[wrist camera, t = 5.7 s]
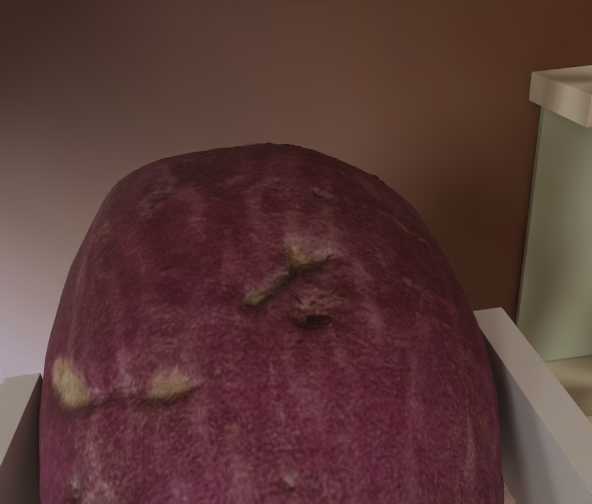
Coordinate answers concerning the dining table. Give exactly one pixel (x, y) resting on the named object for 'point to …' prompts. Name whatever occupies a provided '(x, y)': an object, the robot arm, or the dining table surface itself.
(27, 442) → the robot arm
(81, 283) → the vegetable
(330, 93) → the dining table surface
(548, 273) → the tray
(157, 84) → the dining table surface
